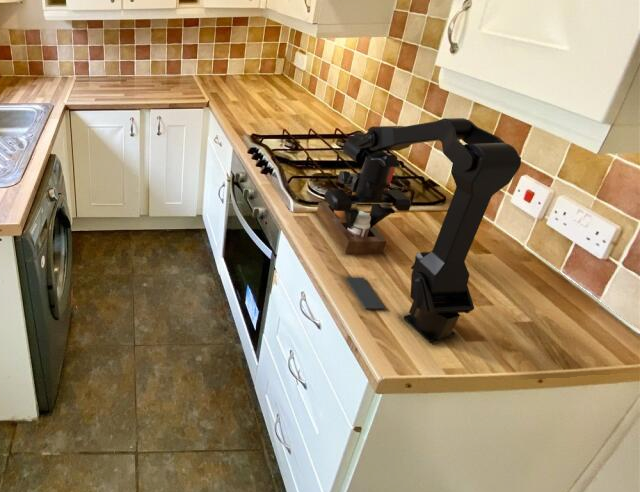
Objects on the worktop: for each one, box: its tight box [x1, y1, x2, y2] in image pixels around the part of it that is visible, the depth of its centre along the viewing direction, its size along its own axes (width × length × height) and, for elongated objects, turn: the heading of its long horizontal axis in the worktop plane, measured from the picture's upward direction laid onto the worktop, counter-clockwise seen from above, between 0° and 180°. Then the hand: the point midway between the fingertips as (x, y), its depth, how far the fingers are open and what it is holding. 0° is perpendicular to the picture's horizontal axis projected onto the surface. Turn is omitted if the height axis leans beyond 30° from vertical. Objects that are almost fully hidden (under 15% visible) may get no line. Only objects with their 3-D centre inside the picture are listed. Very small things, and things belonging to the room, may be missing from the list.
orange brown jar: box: [333, 210, 346, 218], centre depth 113 cm, size 5×5×6 cm
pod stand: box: [315, 201, 388, 255], centre depth 110 cm, size 10×17×4 cm, turn 0°
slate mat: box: [345, 277, 386, 311], centre depth 91 cm, size 9×4×1 cm, turn 179°
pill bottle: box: [347, 210, 371, 237], centre depth 106 cm, size 5×5×8 cm
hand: (358, 227), depth 105 cm, fingers closed on pill bottle, 5 cm apart
